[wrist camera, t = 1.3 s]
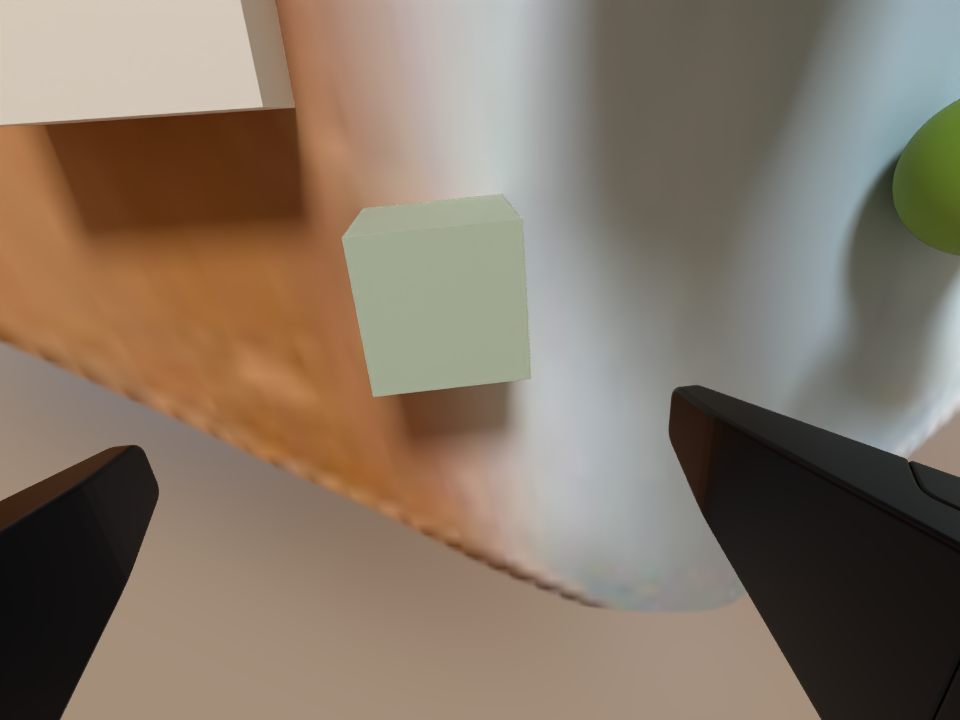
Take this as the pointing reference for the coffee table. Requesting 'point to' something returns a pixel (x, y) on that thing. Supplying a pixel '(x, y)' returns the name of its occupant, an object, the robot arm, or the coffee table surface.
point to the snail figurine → (932, 182)
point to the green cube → (440, 293)
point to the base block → (138, 59)
